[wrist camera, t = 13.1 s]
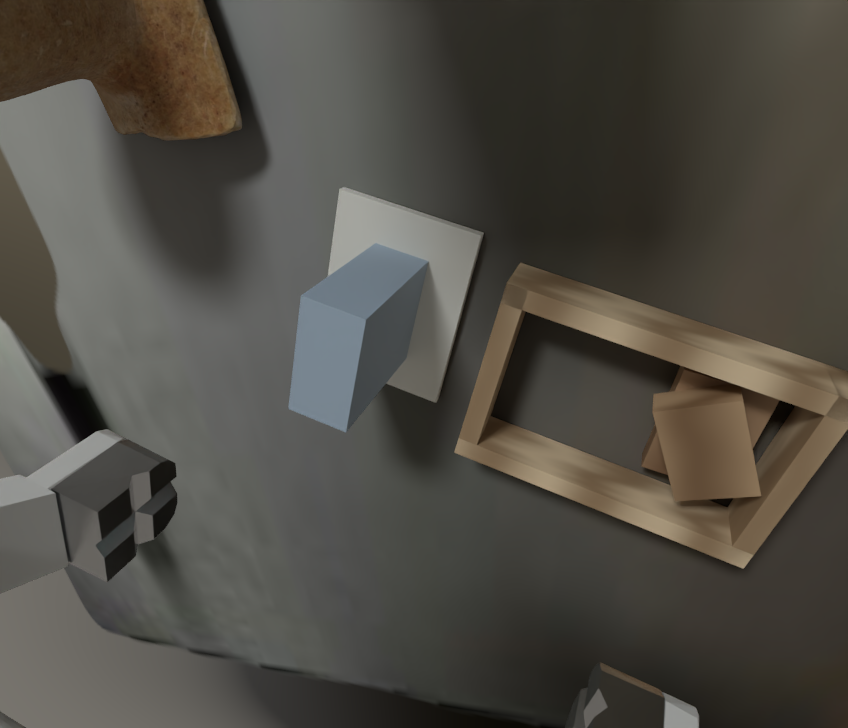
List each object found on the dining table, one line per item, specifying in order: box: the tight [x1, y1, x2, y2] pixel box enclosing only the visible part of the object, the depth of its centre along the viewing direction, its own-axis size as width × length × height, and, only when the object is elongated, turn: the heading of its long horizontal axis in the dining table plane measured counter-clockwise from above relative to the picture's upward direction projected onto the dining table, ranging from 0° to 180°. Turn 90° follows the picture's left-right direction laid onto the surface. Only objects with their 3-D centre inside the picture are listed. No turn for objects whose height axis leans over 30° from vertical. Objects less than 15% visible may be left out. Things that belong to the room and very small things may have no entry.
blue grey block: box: [289, 243, 429, 432], centre depth 35 cm, size 4×7×9 cm, turn 167°
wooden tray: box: [454, 263, 848, 569], centre depth 35 cm, size 18×12×4 cm, turn 77°
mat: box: [328, 187, 484, 403], centre depth 39 cm, size 9×12×1 cm
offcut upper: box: [653, 383, 761, 501], centre depth 34 cm, size 4×6×2 cm
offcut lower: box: [642, 366, 780, 475], centre depth 35 cm, size 5×7×2 cm
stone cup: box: [0, 0, 242, 141], centre depth 30 cm, size 15×12×15 cm
